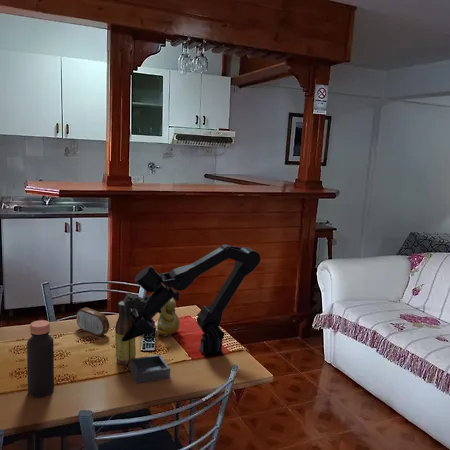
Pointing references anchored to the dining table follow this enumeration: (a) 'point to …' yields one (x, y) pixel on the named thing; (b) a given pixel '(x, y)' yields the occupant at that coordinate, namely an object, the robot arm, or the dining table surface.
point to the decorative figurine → (168, 319)
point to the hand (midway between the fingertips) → (121, 336)
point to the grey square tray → (149, 368)
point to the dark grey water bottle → (40, 360)
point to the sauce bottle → (122, 326)
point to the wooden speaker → (92, 321)
